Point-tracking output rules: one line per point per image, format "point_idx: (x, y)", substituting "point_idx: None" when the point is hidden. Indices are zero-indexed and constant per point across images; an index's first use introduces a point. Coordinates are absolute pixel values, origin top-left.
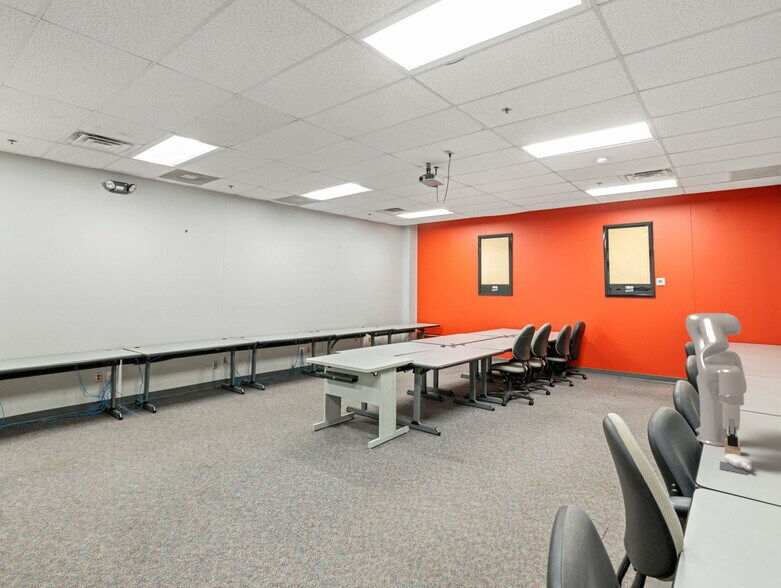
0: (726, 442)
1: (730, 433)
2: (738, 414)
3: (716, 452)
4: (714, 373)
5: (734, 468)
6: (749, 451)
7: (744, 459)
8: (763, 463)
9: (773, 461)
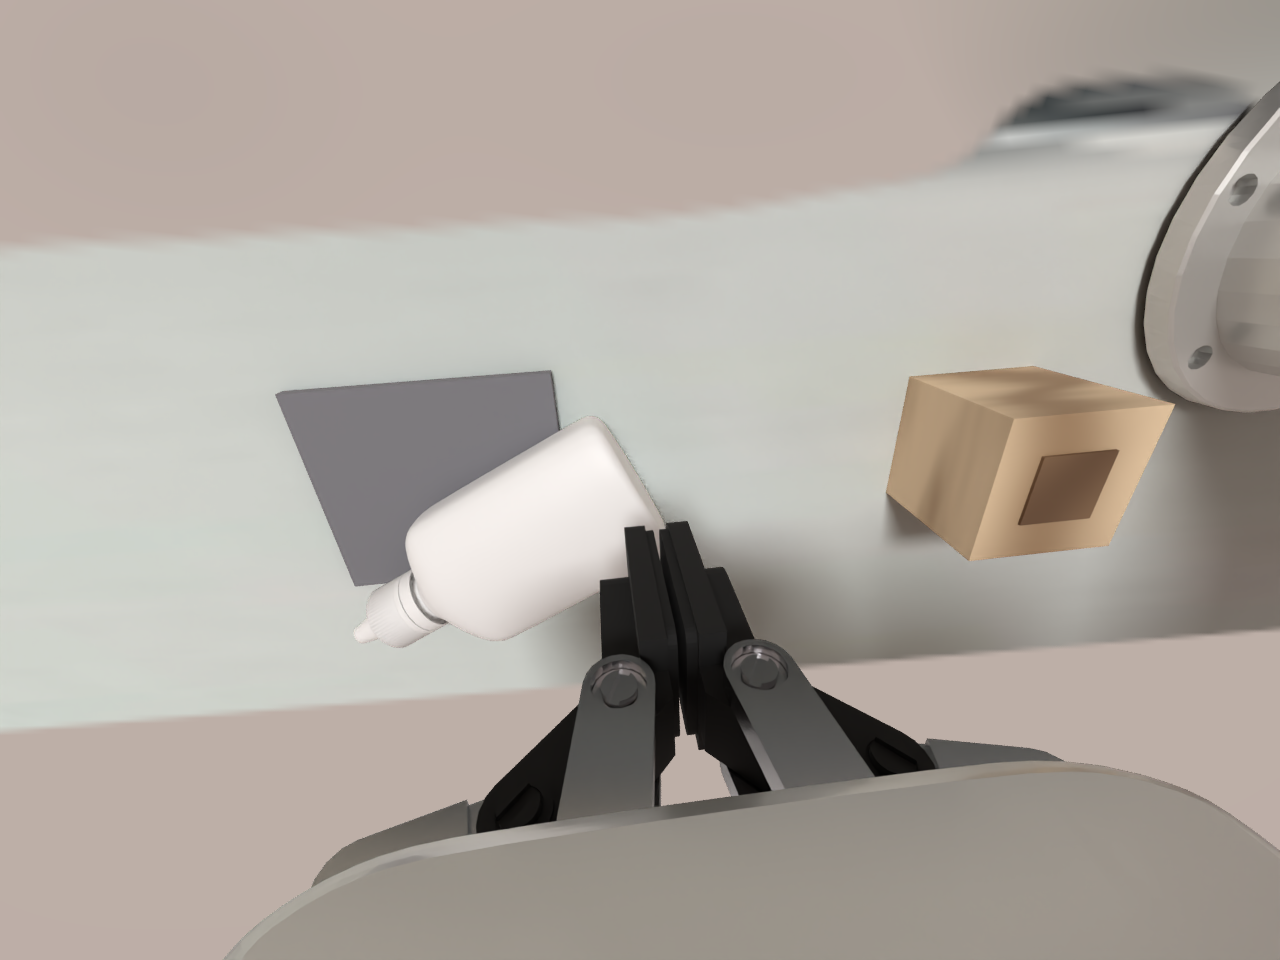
0: (1000, 435)
1: (347, 848)
2: None
3: (895, 301)
4: None
5: (415, 500)
6: None
7: (479, 617)
8: (769, 624)
9: (858, 659)
